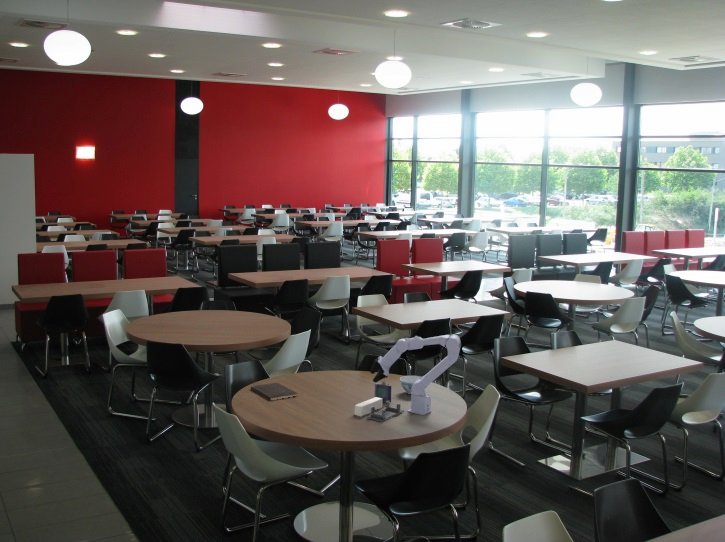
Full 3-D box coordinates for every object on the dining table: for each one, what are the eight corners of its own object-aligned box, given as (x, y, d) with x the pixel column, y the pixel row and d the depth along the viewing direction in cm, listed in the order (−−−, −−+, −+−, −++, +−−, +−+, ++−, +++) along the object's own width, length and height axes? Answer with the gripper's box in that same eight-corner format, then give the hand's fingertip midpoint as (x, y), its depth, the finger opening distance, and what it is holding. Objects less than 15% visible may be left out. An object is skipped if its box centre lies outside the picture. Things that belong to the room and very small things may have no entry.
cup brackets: (403, 412, 361) (404, 402, 360) (381, 422, 345) (381, 412, 344) (389, 408, 366) (389, 399, 365) (366, 418, 350) (366, 408, 349)
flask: (373, 400, 379) (374, 380, 378) (375, 398, 382) (376, 378, 380) (390, 403, 375) (390, 382, 374) (392, 401, 378) (392, 381, 376)
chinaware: (428, 397, 386) (428, 383, 385) (399, 396, 386) (400, 382, 385) (426, 389, 401) (426, 376, 400) (398, 388, 401) (399, 375, 400)
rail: (382, 408, 367) (382, 398, 366) (361, 416, 353) (361, 406, 352) (375, 406, 369) (376, 396, 369) (354, 415, 355) (354, 405, 354)
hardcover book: (277, 386, 400) (277, 382, 400) (297, 397, 382) (297, 393, 381) (250, 390, 392) (250, 386, 391) (270, 401, 373) (270, 397, 372)
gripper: (381, 346, 367) (364, 365, 370) (387, 362, 354) (369, 381, 358) (391, 353, 370) (374, 371, 373) (398, 369, 357) (380, 388, 361)
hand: (372, 377), depth 366 cm, fingers open, 7 cm apart
